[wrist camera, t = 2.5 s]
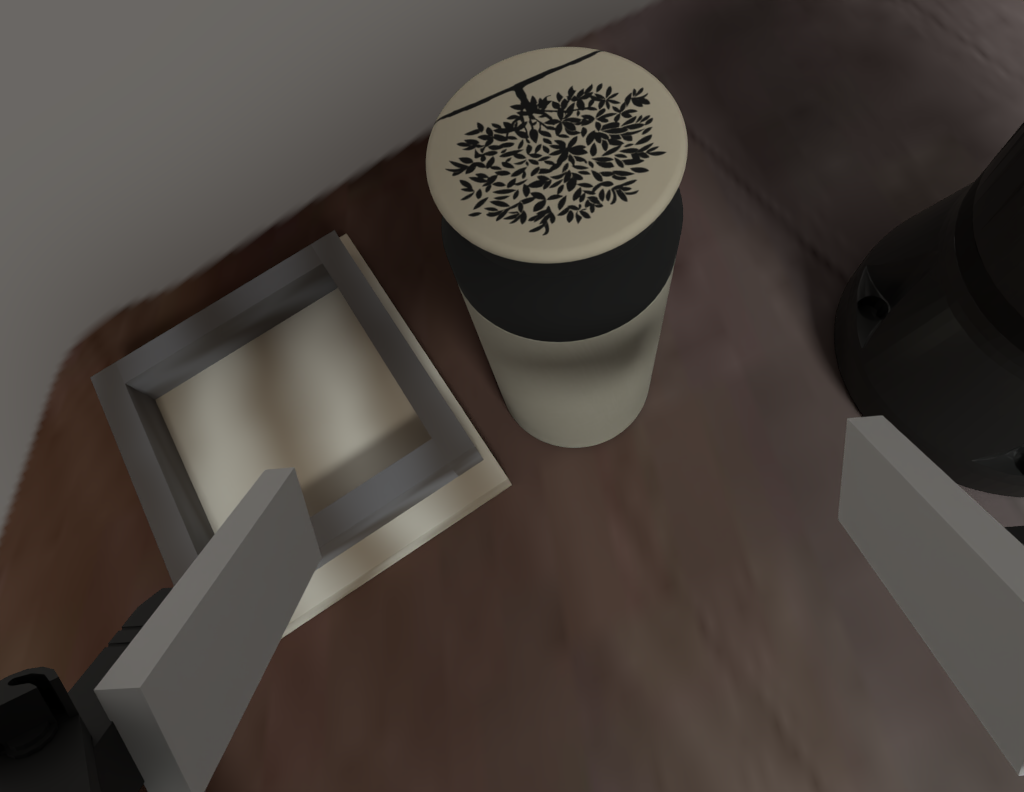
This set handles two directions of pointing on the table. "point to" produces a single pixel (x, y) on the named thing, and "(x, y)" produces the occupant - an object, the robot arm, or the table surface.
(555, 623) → the table surface
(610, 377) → the travel mug
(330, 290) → the board
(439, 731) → the table surface
